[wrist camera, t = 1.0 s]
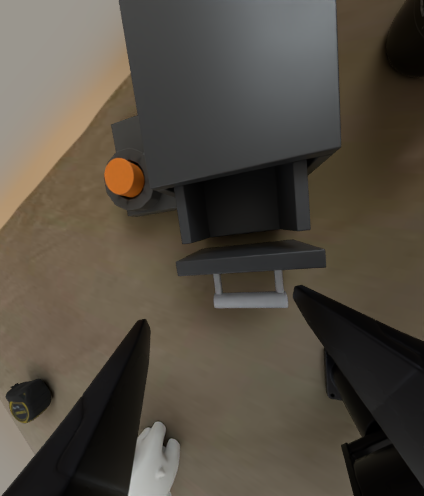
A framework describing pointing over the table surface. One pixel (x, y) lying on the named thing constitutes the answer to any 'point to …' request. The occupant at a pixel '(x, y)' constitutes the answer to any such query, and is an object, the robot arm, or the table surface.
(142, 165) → the pad
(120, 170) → the button
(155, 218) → the table surface
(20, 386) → the tape measure
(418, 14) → the supplement bottle
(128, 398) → the robot arm
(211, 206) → the box with white handle
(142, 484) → the elephant figurine
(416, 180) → the table surface
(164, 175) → the grey lidded box
